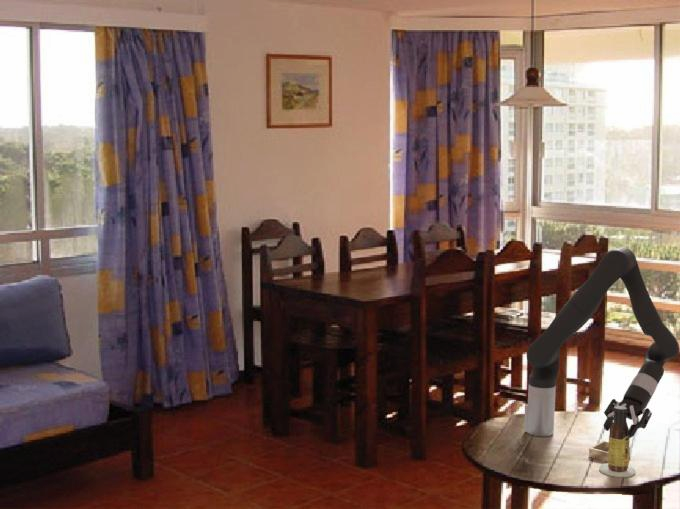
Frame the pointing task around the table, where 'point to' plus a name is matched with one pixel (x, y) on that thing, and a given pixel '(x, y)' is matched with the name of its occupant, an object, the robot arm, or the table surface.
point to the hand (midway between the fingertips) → (617, 432)
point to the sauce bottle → (619, 441)
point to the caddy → (600, 451)
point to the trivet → (607, 471)
